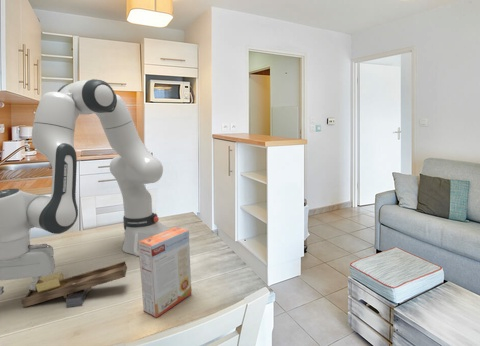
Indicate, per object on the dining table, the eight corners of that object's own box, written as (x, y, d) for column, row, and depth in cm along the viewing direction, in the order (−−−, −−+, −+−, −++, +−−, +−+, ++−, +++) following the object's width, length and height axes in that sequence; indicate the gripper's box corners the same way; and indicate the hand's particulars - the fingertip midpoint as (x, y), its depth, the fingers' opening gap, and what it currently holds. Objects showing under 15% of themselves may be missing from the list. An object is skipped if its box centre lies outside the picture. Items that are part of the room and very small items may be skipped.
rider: (66, 283, 93) (61, 271, 92) (62, 290, 89) (57, 278, 88) (44, 289, 92) (40, 277, 91) (39, 296, 88) (35, 284, 87)
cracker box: (178, 288, 96) (175, 225, 93) (192, 294, 93) (190, 229, 89) (141, 311, 85) (137, 240, 81) (156, 318, 81) (152, 245, 78)
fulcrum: (90, 284, 99) (90, 277, 98) (82, 305, 87) (81, 297, 87) (77, 285, 98) (76, 278, 97) (66, 307, 86) (65, 299, 86)
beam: (127, 270, 98) (125, 260, 97) (126, 279, 92) (123, 269, 92) (33, 298, 92) (29, 288, 91) (25, 310, 86) (20, 299, 86)
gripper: (56, 239, 91) (60, 281, 94) (-25, 246, 86) (-18, 290, 88) (48, 247, 85) (53, 292, 87) (-39, 255, 80) (-31, 303, 82)
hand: (17, 291), depth 88 cm, fingers open, 7 cm apart
